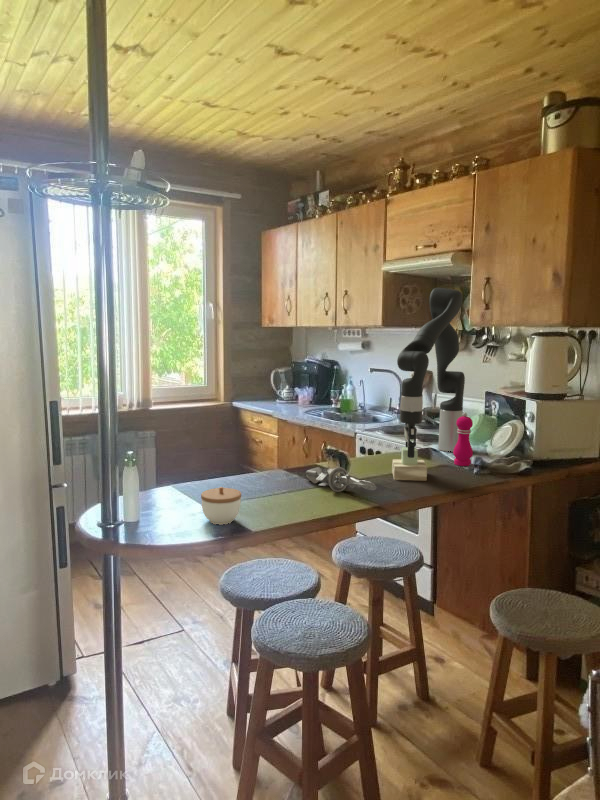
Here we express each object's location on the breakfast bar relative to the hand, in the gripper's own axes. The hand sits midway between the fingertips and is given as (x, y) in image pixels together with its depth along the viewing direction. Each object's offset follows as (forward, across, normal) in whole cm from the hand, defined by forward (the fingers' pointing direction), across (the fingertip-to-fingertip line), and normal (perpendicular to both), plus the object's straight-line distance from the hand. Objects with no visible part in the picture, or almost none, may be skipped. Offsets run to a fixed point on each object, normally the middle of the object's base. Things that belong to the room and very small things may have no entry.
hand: (409, 454), depth 210 cm
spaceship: (+8, +22, -24) cm, 34 cm away
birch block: (+8, 0, 0) cm, 8 cm away
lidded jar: (+8, +54, -55) cm, 77 cm away
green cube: (+3, 0, 0) cm, 3 cm away
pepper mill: (+8, -20, +22) cm, 31 cm away
